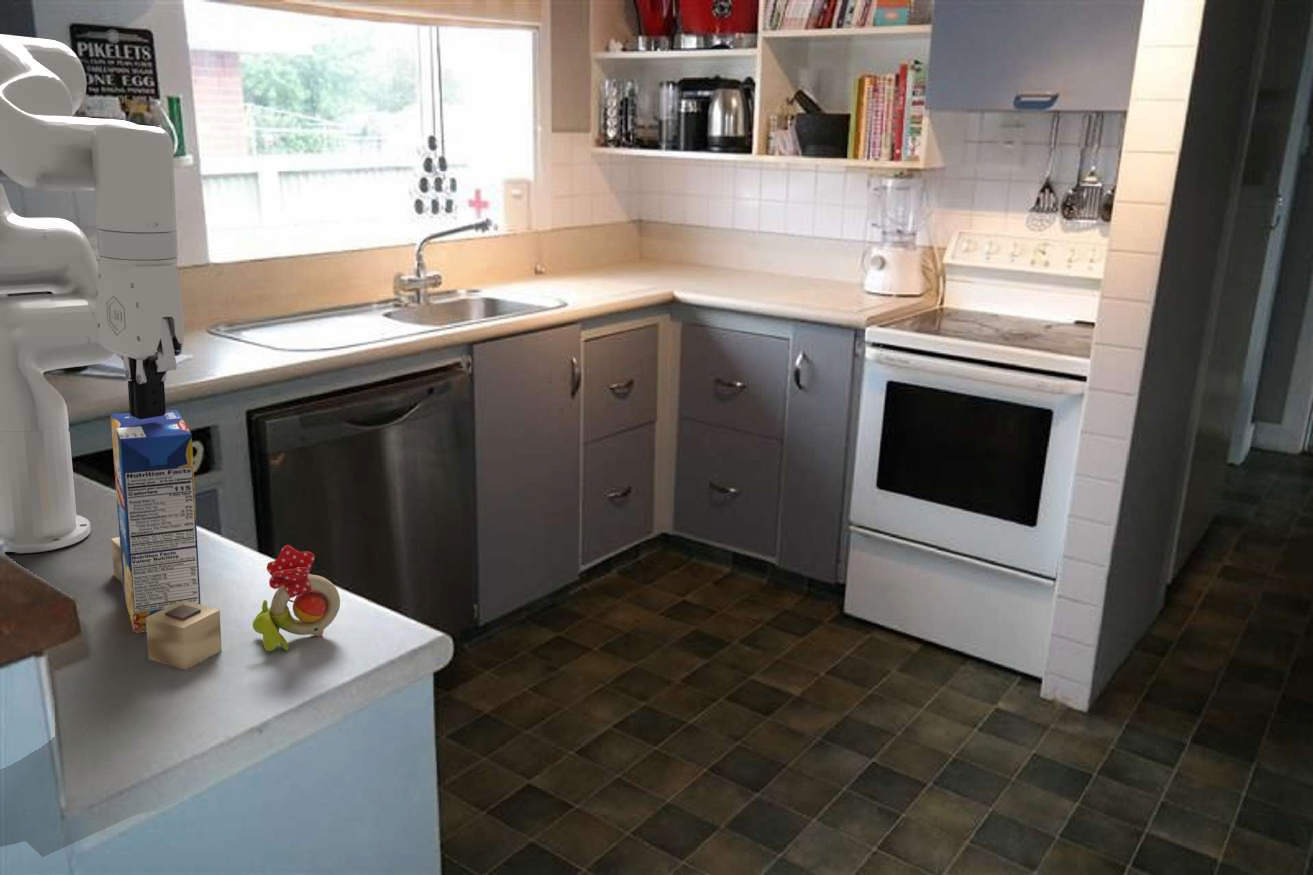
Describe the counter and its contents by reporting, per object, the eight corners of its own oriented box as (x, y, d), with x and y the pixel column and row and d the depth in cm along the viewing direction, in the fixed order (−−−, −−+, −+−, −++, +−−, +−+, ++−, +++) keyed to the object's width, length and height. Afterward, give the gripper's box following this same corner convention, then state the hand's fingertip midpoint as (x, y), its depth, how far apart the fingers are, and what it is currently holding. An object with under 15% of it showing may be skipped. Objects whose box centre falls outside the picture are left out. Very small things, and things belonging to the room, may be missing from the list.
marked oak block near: (148, 659, 112) (145, 614, 110) (185, 640, 116) (183, 597, 115) (185, 670, 110) (182, 625, 109) (221, 651, 114) (219, 607, 113)
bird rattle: (310, 640, 122) (232, 624, 117) (348, 552, 122) (271, 532, 117) (324, 665, 117) (243, 649, 112) (364, 573, 117) (285, 552, 112)
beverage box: (134, 633, 117) (120, 439, 111) (123, 595, 126) (110, 414, 120) (201, 622, 120) (191, 434, 114) (186, 586, 129) (176, 409, 123)
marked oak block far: (113, 575, 131) (110, 536, 130) (156, 566, 134) (153, 528, 133) (127, 589, 128) (124, 549, 126) (170, 579, 131) (168, 540, 130)
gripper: (67, 239, 113) (79, 407, 118) (140, 257, 105) (150, 437, 110) (136, 237, 119) (145, 397, 124) (211, 254, 111) (217, 425, 116)
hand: (148, 415), depth 117 cm, fingers closed
